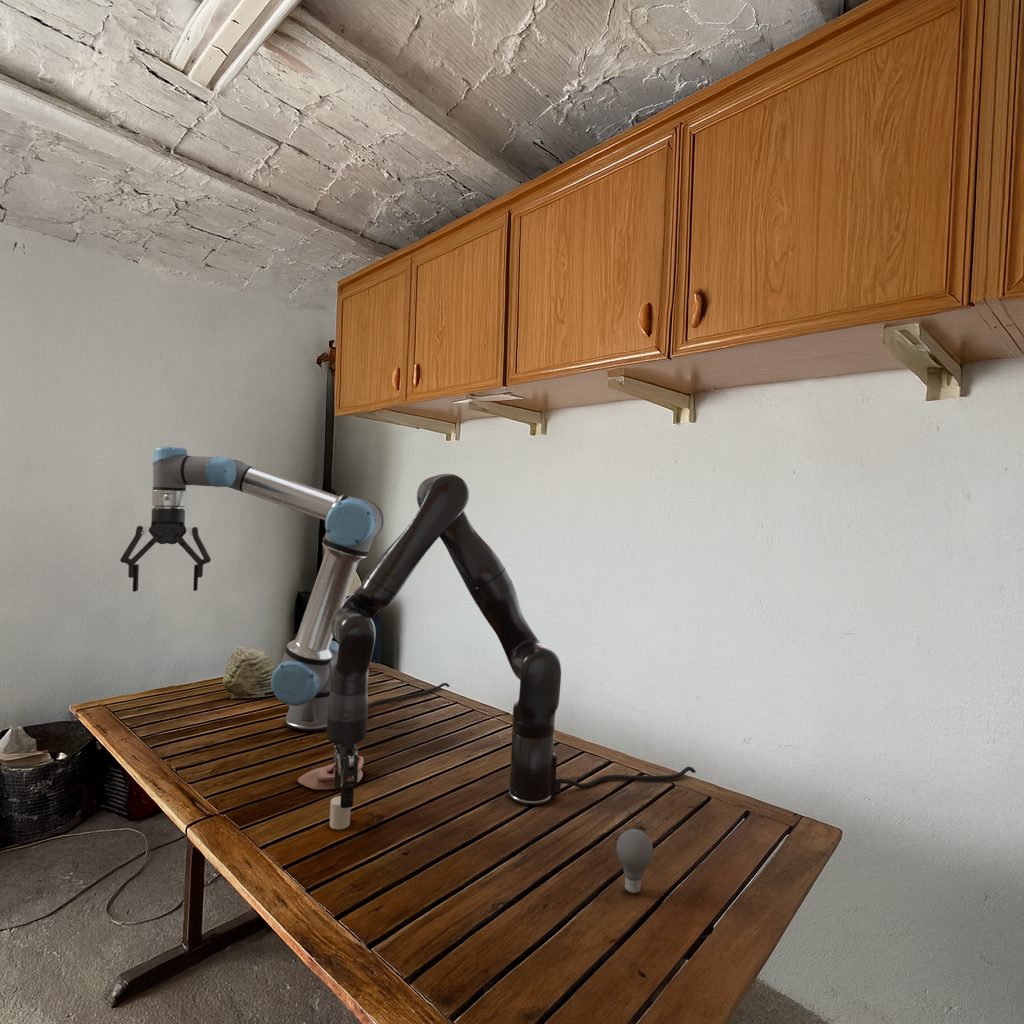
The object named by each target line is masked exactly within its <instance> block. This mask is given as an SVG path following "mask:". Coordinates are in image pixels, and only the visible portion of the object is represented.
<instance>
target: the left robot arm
mask: <svg viewBox="0 0 1024 1024" xmlns="http://www.w3.org/2000/svg"><path fill="white" fill-rule="evenodd" d="M153 452H154V453H153V461H152V490H151V491H152V492H151V493H152V494H151V505H152V506H153V508H152V509H151V516H150V517H151V519H150V520H151V522H150V526H144V525H138V526H136V528H135V535H134V536H133V538H132V539H131V541H130V543H129V545H128V546H127V548H125V551H124V553H123V554H122V556H121V558H120V559H119V561H120V563H122V564H127V565H128V571H127V572H128V573H127V576H128V578H129V579H132V592H134V593H135V592H137V591H139V576H140V575H139V574H140V573H139V572H140V570H139V569H140V568H139V567H140V564H136V563H137V562H138V561H139V560H140V559H141V558H142V557H143V556H144V555H145V554H146V553H147V552H149V550H150V549H151V548H153V546H154V545H155V544H159V545H168V544H169V545H175V544H176V545H177V544H178V545H179V546H180V547H181V548H182V549H183V550H184V551H185V552H186V553H187V554H188V555H189V556H190V558H191V559H192V560H193V561H194V562H195V563H196V564H194V565H193V586H192V587H193V590H192V591H193V592H196V591H198V587H199V585H198V584H199V578H202V577H203V574H204V565H206V564H209V563H210V562H211V561H212V559H211V557H210V555H209V552H208V551H207V549H206V547H205V545H204V543H203V541H202V539H201V537H200V535H199V527H198V526H193V527H186V510H185V508H184V507H186V500H187V499H186V498H187V491H186V490H187V486H199V487H200V486H201V487H215V488H230V489H232V490H235V491H238V492H241V493H245V494H248V495H250V496H254V497H256V498H259V499H262V500H264V501H268V502H271V503H274V504H277V505H279V506H283V507H285V508H288V509H291V510H293V511H296V512H299V513H302V514H304V515H308V516H310V517H314V518H317V519H320V520H323V521H324V526H325V534H324V537H323V539H322V543H321V544H322V546H323V548H324V550H325V553H324V556H323V559H322V562H321V565H320V568H319V570H318V574H317V576H316V579H315V582H314V585H313V588H312V590H311V593H310V596H309V599H308V603H307V605H306V609H305V611H304V613H303V616H302V620H301V622H300V626H299V629H298V632H297V635H296V637H295V639H293V640H291V641H289V642H288V643H287V645H286V648H285V651H284V653H283V656H282V659H281V661H280V664H278V665H276V669H275V671H274V672H273V674H272V677H271V688H272V691H273V692H274V694H275V695H274V696H275V697H276V698H277V700H279V701H280V702H281V703H283V704H284V705H287V706H288V711H287V713H286V715H285V726H286V728H287V729H289V730H291V731H294V732H295V731H296V732H301V733H316V732H325V731H327V715H328V701H329V696H330V686H331V671H332V666H333V663H334V662H335V661H336V660H337V656H338V648H339V642H338V641H337V640H336V641H335V640H333V638H334V637H333V635H332V633H331V629H330V626H331V621H332V618H333V616H334V614H335V613H336V611H337V610H338V609H339V607H340V606H341V605H342V604H343V603H344V602H345V601H346V600H347V598H348V594H349V591H350V589H351V586H352V582H353V579H354V576H355V574H356V571H357V567H358V565H359V562H360V561H362V560H364V559H366V558H367V557H368V554H369V551H370V548H371V545H372V542H373V540H374V539H375V538H377V537H378V536H379V535H380V534H381V533H382V531H383V528H384V525H385V516H384V512H383V511H382V509H381V507H380V506H379V505H378V504H377V503H376V502H375V501H371V500H370V499H365V498H358V497H354V496H351V495H348V494H345V493H344V494H341V495H336V494H333V493H330V492H328V491H325V490H322V489H319V488H316V487H313V486H310V485H307V484H304V483H301V482H299V481H296V480H292V479H290V478H287V477H284V476H281V475H278V474H275V473H272V472H269V471H267V470H264V469H260V468H258V467H255V466H252V465H249V464H247V463H246V462H243V461H241V460H238V459H232V458H230V457H224V456H198V455H196V456H195V455H194V456H193V455H189V454H188V450H187V449H186V448H184V447H176V446H157V447H156V448H155V449H154V451H153ZM147 532H149V534H150V536H151V537H152V538H151V539H149V541H148V542H147V543H146V544H145V545H144V546H143V547H142V548H141V549H140V550H139V551H138V552H137V553H136V554H135V555H134V556H133V557H132V558H130V557H131V555H132V554H133V552H134V551H135V549H136V547H137V545H138V543H139V542H140V540H141V538H142V537H143V536H144V535H146V534H147ZM186 533H188V535H189V536H190V537H192V538H193V540H194V543H195V544H196V546H197V548H198V550H199V552H200V554H201V556H202V558H201V557H200V556H199V555H198V553H197V552H196V551H195V550H194V549H193V548H192V547H191V546H190V545H189V544H188V542H187V541H186V540H185V539H184V537H185V535H186ZM442 687H446V688H450V687H451V685H450V684H449V683H447V682H443V683H441V684H439V685H437V686H435V687H432V688H429V689H426V690H423V691H419V692H415V693H411V694H405V695H400V696H395V697H389V698H388V697H387V698H384V699H379V700H375V701H372V702H370V703H368V708H370V707H373V706H376V705H378V704H383V703H388V702H393V701H399V700H400V701H401V700H403V699H409V698H413V697H417V696H423V695H425V694H428V693H431V692H434V691H437V690H439V689H441V688H442Z"/></svg>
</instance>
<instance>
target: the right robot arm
mask: <svg viewBox="0 0 1024 1024" xmlns="http://www.w3.org/2000/svg"><path fill="white" fill-rule="evenodd" d="M469 490H470V489H469V487H468V484H467V483H466V481H465V480H464V479H463V478H462V477H460V476H458V475H456V474H453V473H441V474H436V475H433V476H430V477H427V478H425V479H424V480H423V481H422V482H421V483H420V484H419V486H418V488H417V492H416V503H417V505H418V508H419V509H418V511H417V512H416V514H415V516H414V517H413V518H412V520H411V522H410V523H409V524H408V525H407V527H406V528H405V529H404V531H402V533H401V534H400V535H399V536H398V537H397V538H396V539H395V540H394V541H393V543H392V544H391V545H390V546H389V547H388V548H387V549H386V550H385V551H384V552H383V553H382V554H381V555H380V557H379V558H378V560H377V561H376V562H375V563H374V565H373V566H372V568H371V569H370V570H369V572H368V573H367V575H366V576H365V578H364V579H363V581H362V582H361V584H360V585H359V586H358V587H357V589H355V590H354V591H353V592H352V593H351V594H350V595H349V596H347V598H346V600H345V602H344V603H343V604H342V605H341V606H340V607H339V609H338V610H337V611H336V613H335V614H334V616H333V618H332V621H331V626H330V629H331V633H332V635H333V638H334V639H335V640H336V642H338V645H339V648H338V656H337V660H336V661H335V662H334V663H333V666H332V671H331V686H330V696H329V701H328V715H327V730H326V733H325V735H326V739H327V740H328V741H329V742H331V743H333V756H332V761H333V764H334V768H337V769H335V780H334V786H335V788H336V789H340V796H341V801H340V805H341V808H350V807H351V808H352V807H353V806H354V793H355V792H354V791H355V789H357V788H358V783H357V776H358V760H359V757H358V756H359V752H358V748H356V744H357V743H359V742H361V741H363V740H365V739H366V737H367V735H368V734H367V733H368V717H369V716H368V715H369V707H368V704H369V673H370V672H369V667H370V664H371V661H372V657H373V654H374V648H375V643H376V626H375V622H374V621H373V619H374V617H375V616H376V615H377V614H378V612H380V611H381V610H383V609H386V608H388V607H389V606H390V605H391V604H393V602H394V601H395V599H396V597H398V595H399V593H400V592H401V590H402V589H403V587H404V586H405V584H406V583H407V581H408V580H409V578H410V577H411V576H412V574H413V573H414V571H415V570H416V568H417V567H418V565H419V564H420V562H421V561H422V560H423V558H424V557H425V555H426V554H427V553H428V552H429V550H430V549H431V548H432V547H433V545H434V544H435V543H436V541H437V540H438V539H440V540H441V541H442V543H443V545H444V546H445V548H446V550H447V552H448V555H449V556H450V558H451V560H452V563H453V565H454V566H455V568H456V570H457V572H458V574H459V576H460V577H461V579H462V581H463V583H464V585H465V587H466V589H467V590H468V592H469V594H470V596H471V598H472V599H473V601H474V603H475V605H476V606H477V608H478V609H479V612H480V613H481V614H482V615H483V617H484V619H485V620H486V621H487V623H488V625H489V626H490V627H491V629H492V630H493V631H494V633H495V635H496V636H497V638H498V640H499V642H500V645H501V647H502V649H503V652H504V654H505V657H506V658H507V661H508V663H509V666H510V668H511V671H512V672H513V674H514V676H515V677H516V678H517V679H518V680H519V694H518V696H519V697H518V700H517V701H515V702H514V704H513V707H512V726H511V747H510V748H511V751H510V773H509V786H508V787H509V788H508V797H509V798H510V799H511V800H512V801H513V802H515V803H518V804H520V805H525V806H541V805H545V804H547V803H549V802H550V801H551V800H555V799H556V793H559V792H561V787H562V784H567V785H572V786H574V787H576V788H580V789H585V788H591V787H593V786H594V785H596V784H598V783H600V782H603V781H608V780H630V781H668V780H675V779H679V778H681V777H683V776H684V775H685V774H686V773H687V772H691V773H692V774H695V773H697V771H696V770H695V769H694V768H693V767H692V766H686V767H685V768H683V769H682V770H681V771H679V772H677V773H674V774H666V775H663V774H662V775H633V774H606V775H601V776H599V777H597V778H595V779H593V780H591V781H589V782H584V783H581V782H578V781H576V780H573V779H568V778H561V777H560V776H558V774H557V765H558V755H557V754H556V753H555V752H554V749H555V747H554V746H555V729H556V728H555V727H556V726H555V725H556V724H555V723H556V712H557V710H558V707H559V705H560V698H561V697H560V695H561V685H562V663H561V659H560V658H559V655H558V654H557V653H556V652H555V651H553V650H552V649H551V648H549V647H547V646H546V645H544V644H543V643H542V641H540V639H539V638H538V637H537V636H536V634H535V633H534V631H533V629H532V627H531V626H530V625H529V624H528V621H527V619H526V617H525V615H524V612H523V609H522V606H521V601H520V598H519V593H518V591H517V588H516V584H515V583H514V581H513V579H512V577H511V576H510V573H509V571H508V570H507V568H506V566H505V564H504V563H503V562H502V560H501V558H500V557H499V556H498V555H497V553H496V552H495V550H494V549H492V548H491V546H489V544H488V543H487V542H486V541H485V540H484V539H483V538H482V537H481V536H480V534H478V532H477V531H476V529H475V528H474V527H473V525H472V523H471V522H470V520H469V518H468V516H467V514H466V511H465V509H466V508H467V506H468V504H469V502H470V501H469V500H470V491H469ZM348 776H351V780H352V781H346V780H347V777H348ZM351 808H350V809H351Z"/></svg>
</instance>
